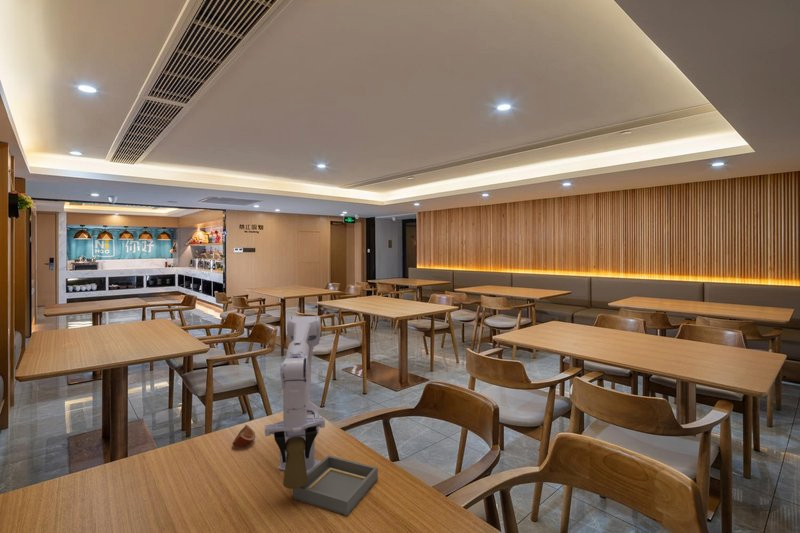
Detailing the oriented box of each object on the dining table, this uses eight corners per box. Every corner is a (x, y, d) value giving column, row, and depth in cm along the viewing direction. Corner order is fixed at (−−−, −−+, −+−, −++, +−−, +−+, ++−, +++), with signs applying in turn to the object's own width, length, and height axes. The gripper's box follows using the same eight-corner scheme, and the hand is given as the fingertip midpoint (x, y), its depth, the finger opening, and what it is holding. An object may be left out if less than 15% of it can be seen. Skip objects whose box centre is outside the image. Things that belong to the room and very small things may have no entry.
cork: (302, 489, 98) (302, 444, 98) (279, 487, 99) (278, 443, 99) (311, 476, 104) (311, 433, 104) (288, 475, 105) (288, 432, 105)
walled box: (292, 498, 102) (292, 485, 102) (328, 466, 116) (328, 455, 116) (347, 516, 95) (347, 502, 95) (377, 480, 110) (377, 467, 110)
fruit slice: (237, 439, 133) (236, 424, 133) (258, 438, 134) (257, 423, 133) (229, 452, 125) (229, 436, 124) (251, 450, 125) (251, 435, 125)
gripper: (265, 415, 95) (265, 472, 95) (326, 407, 100) (327, 461, 100) (264, 405, 101) (264, 458, 102) (322, 397, 106) (322, 448, 107)
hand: (295, 458), depth 101 cm, fingers closed on cork, 5 cm apart
